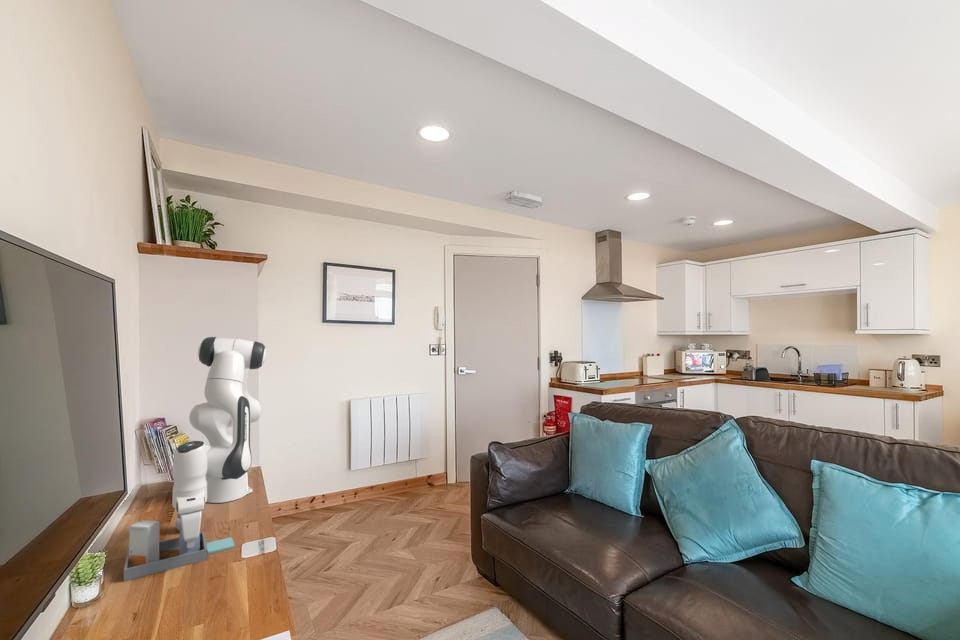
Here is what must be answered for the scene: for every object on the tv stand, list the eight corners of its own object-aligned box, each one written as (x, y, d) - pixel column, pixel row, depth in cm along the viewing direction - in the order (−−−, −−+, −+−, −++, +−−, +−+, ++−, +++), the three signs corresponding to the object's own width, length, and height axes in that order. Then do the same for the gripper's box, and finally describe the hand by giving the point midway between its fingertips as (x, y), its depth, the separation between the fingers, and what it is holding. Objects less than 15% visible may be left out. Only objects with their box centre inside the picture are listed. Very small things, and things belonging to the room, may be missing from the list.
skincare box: (128, 568, 126) (128, 525, 126) (141, 560, 130) (142, 519, 130) (147, 570, 125) (147, 527, 125) (160, 562, 129) (160, 520, 129)
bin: (127, 559, 131) (127, 548, 131) (204, 540, 142) (204, 531, 142) (123, 581, 119) (123, 570, 119) (207, 559, 130) (207, 549, 130)
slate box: (179, 553, 134) (179, 526, 134) (199, 548, 137) (199, 522, 137) (179, 559, 131) (180, 531, 131) (199, 554, 133) (200, 527, 134)
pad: (206, 545, 139) (206, 543, 139) (231, 538, 143) (231, 537, 143) (208, 554, 133) (207, 552, 133) (234, 547, 137) (234, 545, 137)
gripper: (177, 489, 141) (176, 533, 140) (178, 510, 124) (177, 560, 124) (200, 485, 144) (200, 528, 144) (204, 505, 128) (204, 554, 127)
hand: (189, 543), depth 134 cm, fingers closed on slate box, 4 cm apart
